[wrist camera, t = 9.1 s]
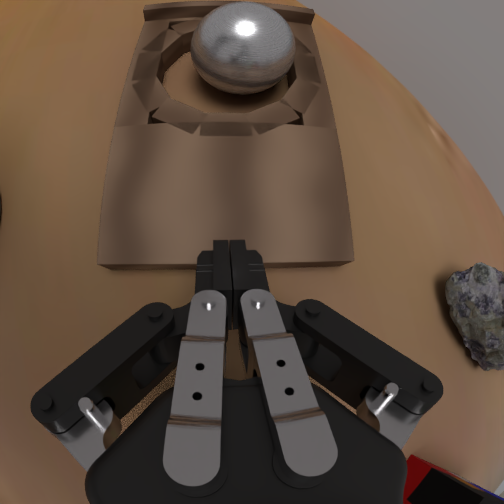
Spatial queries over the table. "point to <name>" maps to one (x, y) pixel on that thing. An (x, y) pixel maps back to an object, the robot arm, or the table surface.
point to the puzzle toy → (441, 486)
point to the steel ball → (243, 48)
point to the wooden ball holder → (222, 162)
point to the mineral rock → (479, 312)
